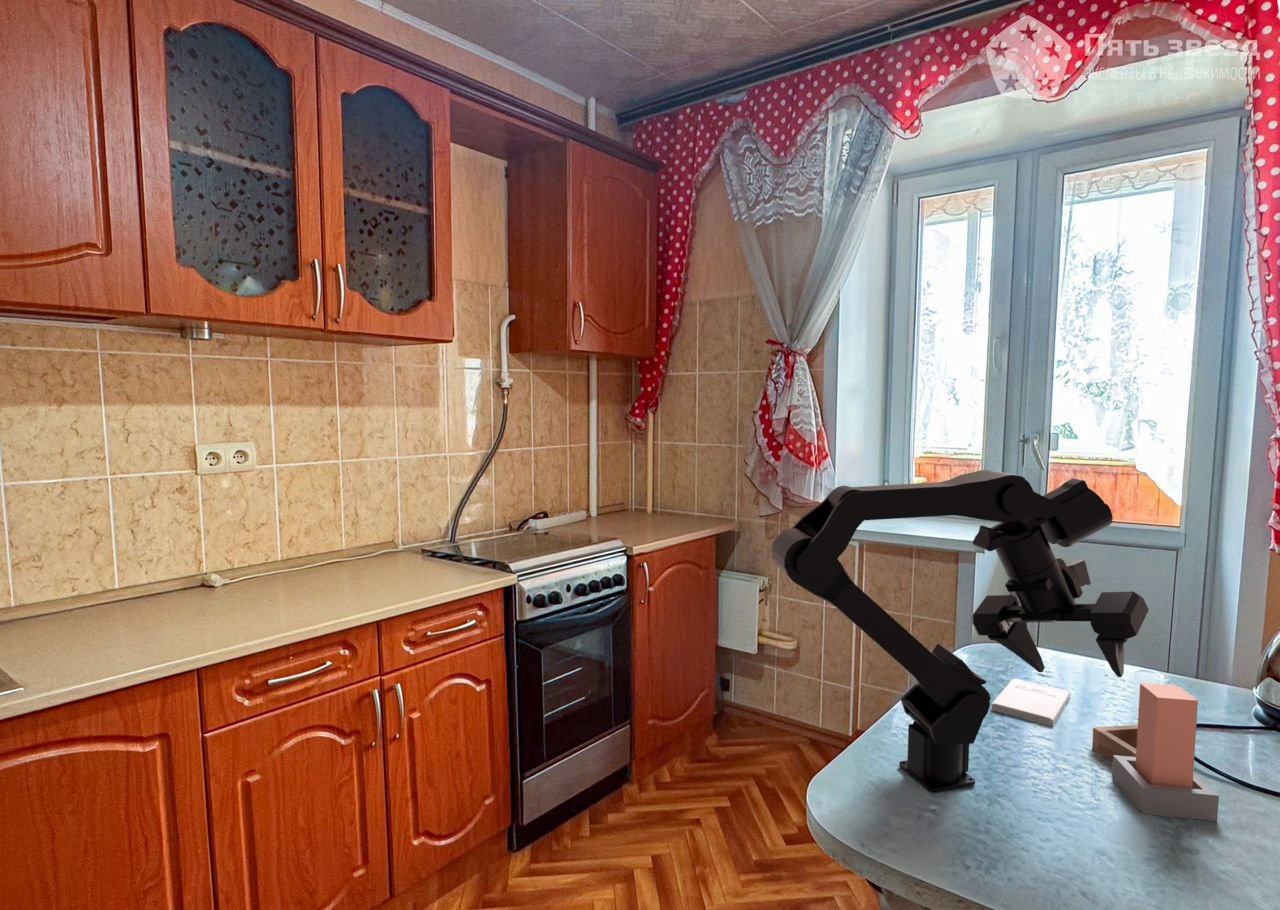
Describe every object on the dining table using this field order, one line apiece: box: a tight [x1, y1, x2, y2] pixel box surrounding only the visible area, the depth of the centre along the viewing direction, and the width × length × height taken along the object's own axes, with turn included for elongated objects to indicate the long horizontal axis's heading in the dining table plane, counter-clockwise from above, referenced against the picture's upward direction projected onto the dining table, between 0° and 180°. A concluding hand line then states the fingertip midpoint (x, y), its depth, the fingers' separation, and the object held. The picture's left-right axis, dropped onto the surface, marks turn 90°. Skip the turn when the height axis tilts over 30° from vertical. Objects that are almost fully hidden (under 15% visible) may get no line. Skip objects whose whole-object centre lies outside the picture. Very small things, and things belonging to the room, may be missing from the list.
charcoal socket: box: [1111, 755, 1220, 822], centre depth 81 cm, size 7×7×3 cm
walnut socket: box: [1091, 724, 1138, 764], centre depth 89 cm, size 7×7×3 cm
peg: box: [1135, 682, 1199, 789], centre depth 81 cm, size 4×4×13 cm
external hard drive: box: [990, 678, 1071, 727], centre depth 106 cm, size 2×8×12 cm
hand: (1079, 672), depth 86 cm, fingers open, 9 cm apart
